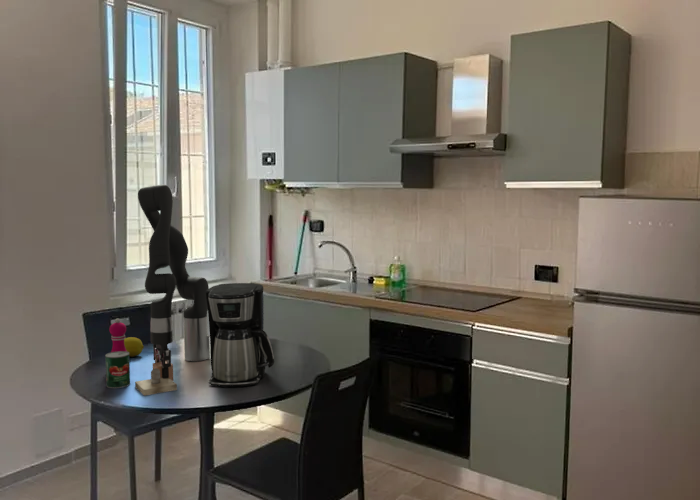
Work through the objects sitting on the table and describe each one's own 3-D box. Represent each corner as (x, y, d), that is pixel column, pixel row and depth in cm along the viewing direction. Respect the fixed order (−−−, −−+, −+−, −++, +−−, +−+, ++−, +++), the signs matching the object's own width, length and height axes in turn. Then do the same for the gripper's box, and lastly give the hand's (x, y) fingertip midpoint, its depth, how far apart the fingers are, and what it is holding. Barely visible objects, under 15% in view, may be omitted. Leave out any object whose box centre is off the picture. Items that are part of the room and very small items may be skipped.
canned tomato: (116, 389, 214) (115, 358, 213) (101, 386, 218) (100, 355, 217) (135, 383, 221) (134, 353, 220) (120, 380, 225) (119, 350, 224)
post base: (167, 381, 222) (166, 362, 222) (177, 389, 213) (176, 369, 213) (135, 387, 216) (134, 367, 216) (144, 395, 207) (143, 375, 207)
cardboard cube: (168, 376, 228) (168, 360, 228) (173, 380, 224) (172, 364, 223) (153, 379, 225) (152, 363, 225) (157, 383, 221) (157, 366, 220)
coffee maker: (212, 392, 211) (210, 292, 208) (196, 367, 240) (193, 280, 237) (277, 383, 220) (276, 288, 217) (254, 361, 249) (252, 277, 246)
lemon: (147, 354, 261) (147, 335, 260) (139, 359, 253) (138, 339, 253) (123, 353, 262) (122, 334, 262) (113, 358, 255) (113, 339, 254)
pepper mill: (122, 373, 233) (120, 320, 231) (105, 372, 234) (103, 320, 232) (133, 368, 240) (131, 316, 238) (116, 367, 241) (114, 316, 240)
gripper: (178, 332, 218) (179, 378, 219) (166, 325, 230) (166, 369, 232) (156, 334, 214) (157, 382, 215) (145, 327, 226) (146, 372, 227)
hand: (162, 375), depth 223 cm, fingers open, 7 cm apart
